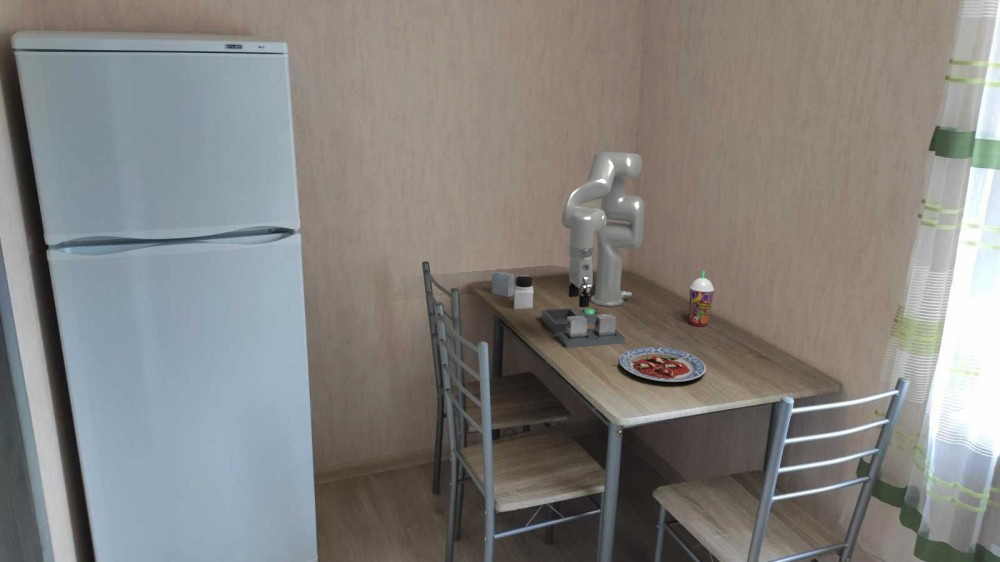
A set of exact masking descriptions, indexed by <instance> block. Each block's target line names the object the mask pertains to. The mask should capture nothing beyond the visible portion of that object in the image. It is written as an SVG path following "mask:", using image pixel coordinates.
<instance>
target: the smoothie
mask: <svg viewBox="0 0 1000 562" xmlns="http://www.w3.org/2000/svg"><path fill="white" fill-rule="evenodd" d="M705 272H706V271H705V270H702V277H699V278H695V280H693V281H692V283H691V285H689V307H688V320H689V324H690V325H692V326H695V327H701V328H702V327H706V326H707V324H708V323H709V320H710V314H711V309H712V302H713V297H714V291H715V288H714V286H713V283H712V282H711V280H709V279H708V278H706V277H705Z"/></svg>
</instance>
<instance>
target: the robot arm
mask: <svg viewBox="0 0 1000 562" xmlns="http://www.w3.org/2000/svg"><path fill="white" fill-rule="evenodd" d="M642 168H643V161H642V157H641V155H640V154H639V153H636V152H635V153H633V152H620V151H619V152H617V151H599V152H598V151H597V152H596V153H595V154H594V155H593V158H592V163H591V166H590V170H589V172H588V176H587V179H586V182H585V183H583V184H580V186H578V187H577V188H575V189H574V190H573V191H571V193H570V194H569V195H568V196H567V199H566V201H565V204H564V207H563V209H562V215H561V223H562V226H563V227H564V228H565V229H567V230H569V246H568V247H569V250H568V251H569V252H568V256H569V257H570V259H569V268H568V269H569V270H568V275H569V276H568V279H569V282H568V283H569V285H568V297H569V298H579V299H578V307H579V308H590V307H589V306H590V302H591V303H593V304H596V305H598V306H602V307H616V306H617V307H618V306H620V305H623V304H624V298H628V297H632V295H633V294H632V293H633V292H632V291H626V290H622V289H621V283H622V282H621V280H622V271H623V257H622V254H621V252H620V251H619V249H625V250H638V249H640V248H641V247H642V245H643V242H644V227H645V226H644V225H645V209H646V208H645V202H644V200H643V198H642V197H640V196H638V195H627V194H626V181H625V178H628V179H634V178H637V177H638V176H640V174H641V171H642ZM599 199H601V208H595V207H587V206H581V205H583V204H585V203H589V202H592V201H595V200H599ZM607 220H614V221H607ZM616 221H618V222H616ZM619 221H624V222H619ZM626 222H629V223H626ZM594 233H596V234H594ZM594 235H596V243H597V244H596V245H597V258H596V259H597V260H596V261H597V262H596V275H595V276H596V277H595V292H594V293H595V294H593V295H592V296H591V297H590V295H591V288H592V287H593V272H594V271H593V259H592V258H593V256H594V238H595V237H594Z"/></svg>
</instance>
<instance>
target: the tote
mask: <svg viewBox="0 0 1000 562" xmlns="http://www.w3.org/2000/svg"><path fill="white" fill-rule="evenodd" d="M569 316H579V315H578V314H577V311H575V310H574V309H573V308H572V307H569V308H568V307H567V308H566V307H565V308H564V307H563V308H549V309H542V310H541V320H542V321H543V322H544V323H545V325H546V326H547V327H548V329H550V330H551V332H552V333H553V334H554V335H557V331H565V330H567V317H569Z"/></svg>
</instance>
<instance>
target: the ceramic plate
mask: <svg viewBox="0 0 1000 562" xmlns="http://www.w3.org/2000/svg"><path fill="white" fill-rule="evenodd" d="M644 355H662V356H661V357H658V356H647V357H645V358H641V359H638V360H636V361H633V359H635V358H637V357H640V356H644ZM663 355H664V356H663ZM667 356H670V357H667ZM673 357H675V358H673ZM662 358H663V359H662ZM619 364H620V365H621V367H622V368H623V369H624V370H625V371H626V372H629V373H630V374H632V375H635V376H637V377H640V378H644V379H647V380H652V381H657V382H669V383H676V382H677V383H678V382H679V383H680V382H687V381H693V380H695V379H698V378H700V377H702V376H703V375H704V374H705V373H706V371H707V370H706V369H707V367H706V365H705V363H704V362H703V360H701V359H700V358H698V357H697V356H696V355H695V356H694V355H693V354H690V353H688V352H685V351H683V350H678V349H672V348H667V347H657V346H648V347H638V348H633V349H629V350H627V351H625V352H623V353H622V354H621V355H620V357H619Z"/></svg>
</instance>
